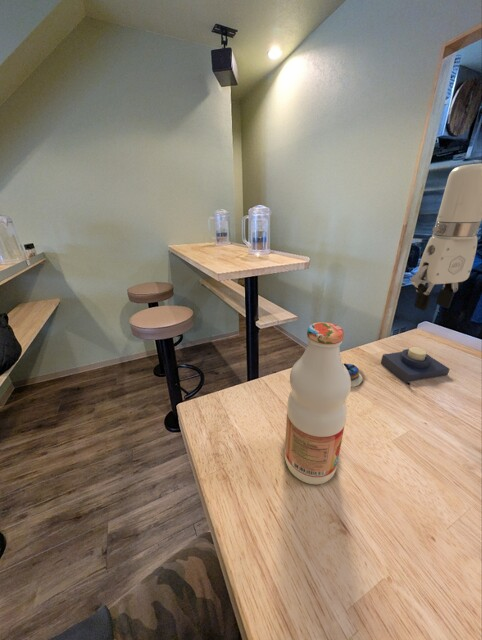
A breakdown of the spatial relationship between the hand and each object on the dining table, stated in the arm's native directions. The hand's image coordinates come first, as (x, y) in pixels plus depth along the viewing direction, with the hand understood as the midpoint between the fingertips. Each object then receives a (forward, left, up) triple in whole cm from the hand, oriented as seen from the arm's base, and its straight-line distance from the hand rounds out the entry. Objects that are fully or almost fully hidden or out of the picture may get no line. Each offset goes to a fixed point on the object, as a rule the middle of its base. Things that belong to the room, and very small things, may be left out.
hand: (431, 306), depth 62 cm
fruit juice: (+33, +29, -20) cm, 48 cm away
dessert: (+19, +4, -20) cm, 28 cm away
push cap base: (0, 0, -20) cm, 20 cm away
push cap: (0, 0, -15) cm, 15 cm away
